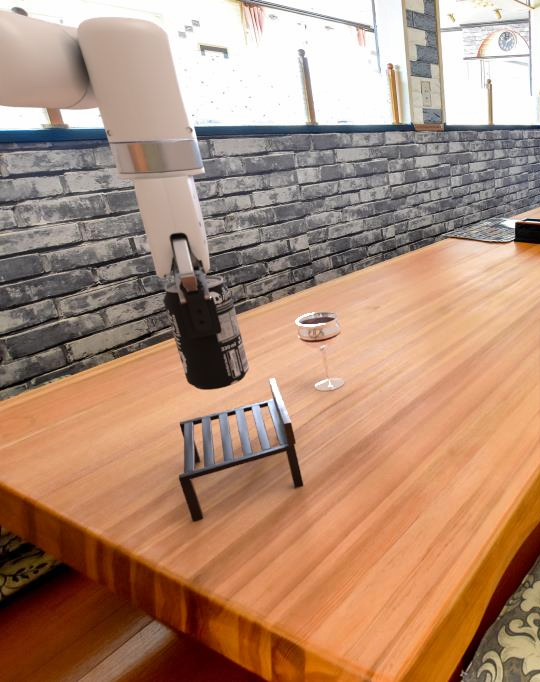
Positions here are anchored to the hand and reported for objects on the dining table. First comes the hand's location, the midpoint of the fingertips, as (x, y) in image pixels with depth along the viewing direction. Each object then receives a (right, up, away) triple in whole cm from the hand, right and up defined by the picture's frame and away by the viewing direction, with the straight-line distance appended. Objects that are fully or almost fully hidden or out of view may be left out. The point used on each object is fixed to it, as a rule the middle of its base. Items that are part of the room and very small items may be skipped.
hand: (204, 324), depth 60 cm
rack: (+1, -19, +8) cm, 20 cm away
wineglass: (+4, -10, +31) cm, 32 cm away
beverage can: (0, -7, +3) cm, 7 cm away
